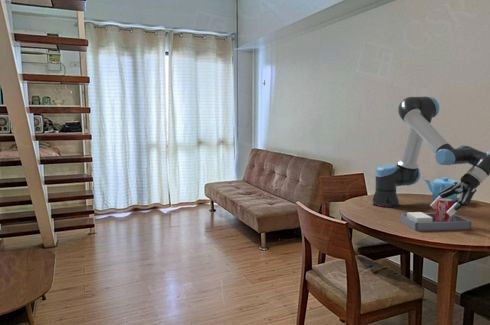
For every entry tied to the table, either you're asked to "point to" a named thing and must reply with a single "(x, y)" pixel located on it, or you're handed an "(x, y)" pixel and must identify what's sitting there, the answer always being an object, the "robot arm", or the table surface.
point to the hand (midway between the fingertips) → (439, 210)
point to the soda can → (443, 210)
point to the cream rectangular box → (419, 217)
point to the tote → (436, 223)
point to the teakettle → (441, 187)
